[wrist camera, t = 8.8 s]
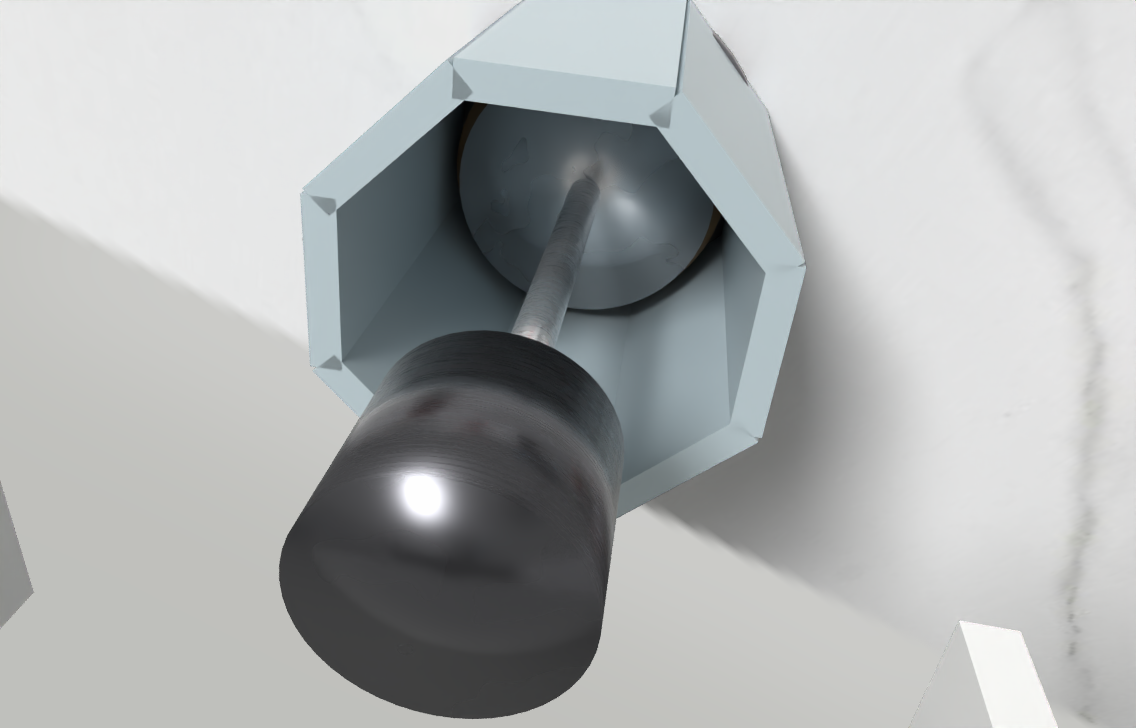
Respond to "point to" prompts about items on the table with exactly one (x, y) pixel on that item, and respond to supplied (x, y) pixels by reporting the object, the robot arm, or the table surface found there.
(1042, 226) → the table surface
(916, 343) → the table surface
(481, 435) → the plunger
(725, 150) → the octagonal grey mug
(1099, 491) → the table surface
